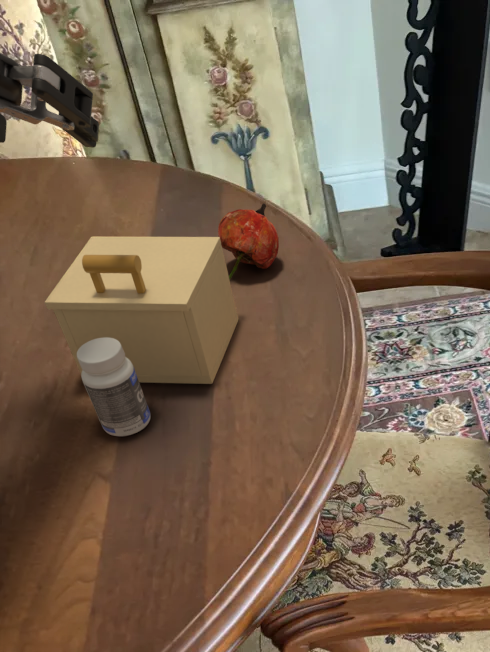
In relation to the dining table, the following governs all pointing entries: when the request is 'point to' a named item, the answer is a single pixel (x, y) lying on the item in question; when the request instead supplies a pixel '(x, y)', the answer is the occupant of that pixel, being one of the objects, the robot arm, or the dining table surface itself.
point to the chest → (165, 332)
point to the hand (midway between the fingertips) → (47, 133)
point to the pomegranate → (249, 237)
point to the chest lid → (135, 274)
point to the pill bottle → (113, 387)
